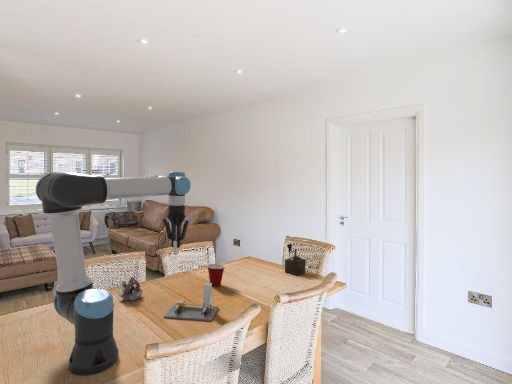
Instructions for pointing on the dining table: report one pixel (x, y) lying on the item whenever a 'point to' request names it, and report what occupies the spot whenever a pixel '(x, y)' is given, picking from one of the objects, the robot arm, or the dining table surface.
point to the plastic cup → (215, 274)
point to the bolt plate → (191, 314)
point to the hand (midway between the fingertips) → (175, 254)
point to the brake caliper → (131, 290)
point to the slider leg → (207, 297)
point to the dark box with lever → (294, 264)
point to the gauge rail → (188, 306)
